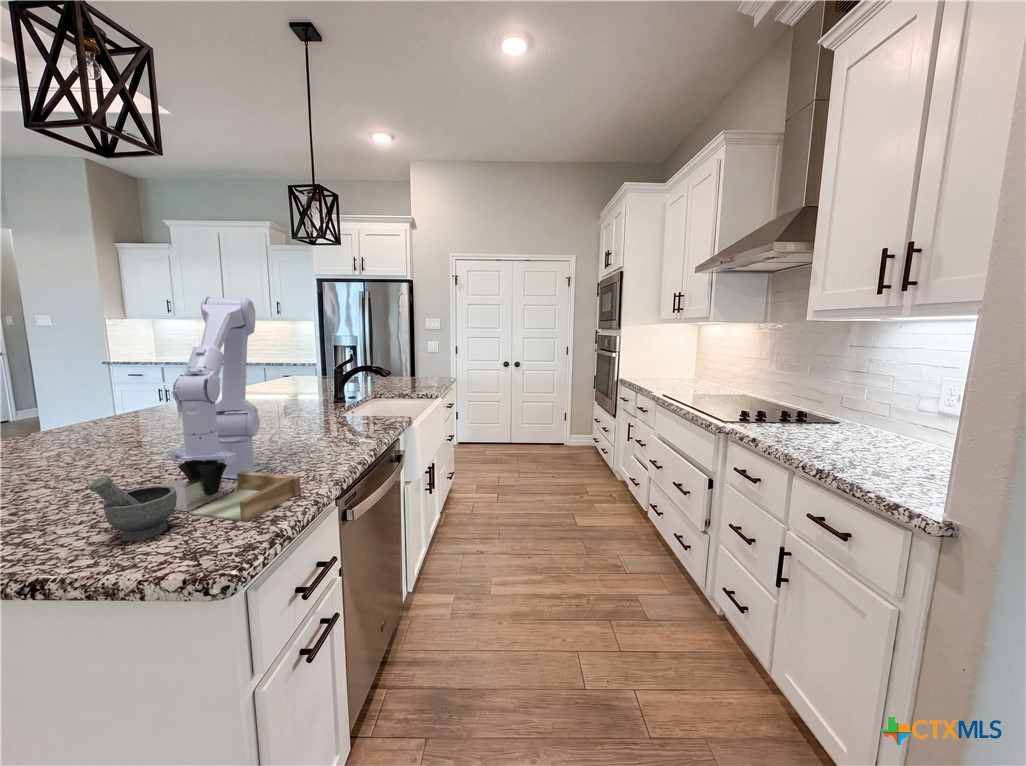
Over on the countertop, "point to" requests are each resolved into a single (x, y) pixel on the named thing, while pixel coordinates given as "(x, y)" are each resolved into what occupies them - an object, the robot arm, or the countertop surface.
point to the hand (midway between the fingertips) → (206, 493)
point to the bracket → (191, 493)
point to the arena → (252, 496)
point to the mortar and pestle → (136, 508)
